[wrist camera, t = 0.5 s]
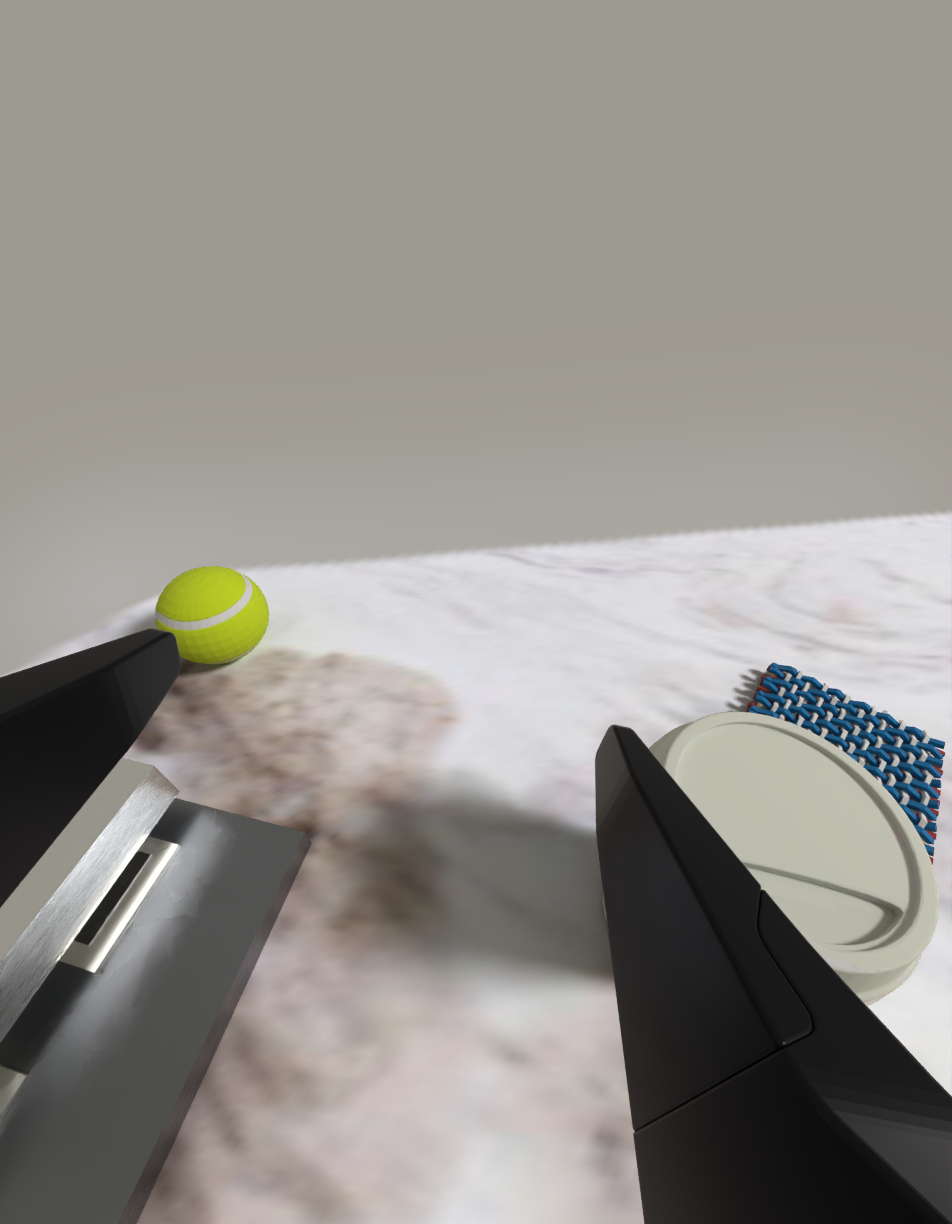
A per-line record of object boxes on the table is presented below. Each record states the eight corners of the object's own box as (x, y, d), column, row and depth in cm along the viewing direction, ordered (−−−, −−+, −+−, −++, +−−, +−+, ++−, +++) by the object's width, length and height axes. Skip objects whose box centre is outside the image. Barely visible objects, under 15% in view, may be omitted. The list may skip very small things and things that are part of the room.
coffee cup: (538, 908, 22) (589, 809, 13) (633, 791, 26) (717, 660, 18) (703, 1094, 18) (930, 1119, 9) (784, 916, 22) (989, 823, 14)
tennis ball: (299, 641, 34) (273, 572, 29) (215, 701, 30) (170, 632, 25) (245, 603, 36) (214, 534, 32) (163, 653, 32) (113, 583, 28)
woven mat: (917, 897, 23) (948, 886, 22) (713, 769, 28) (727, 753, 27) (934, 756, 29) (959, 740, 28) (762, 669, 34) (776, 651, 32)
